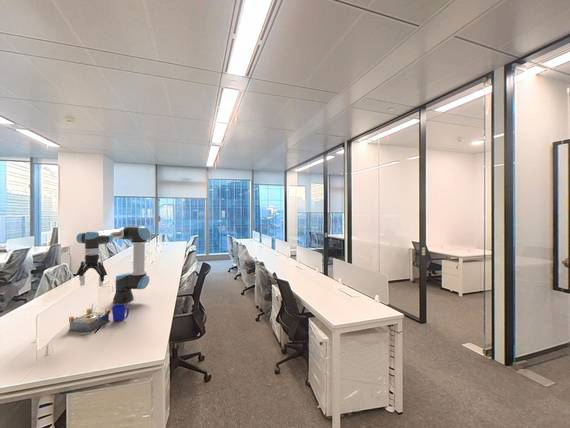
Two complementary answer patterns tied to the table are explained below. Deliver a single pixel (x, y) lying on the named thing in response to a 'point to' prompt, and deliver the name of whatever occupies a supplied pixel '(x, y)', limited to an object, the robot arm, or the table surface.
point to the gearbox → (89, 321)
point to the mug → (119, 312)
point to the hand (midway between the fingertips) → (91, 285)
